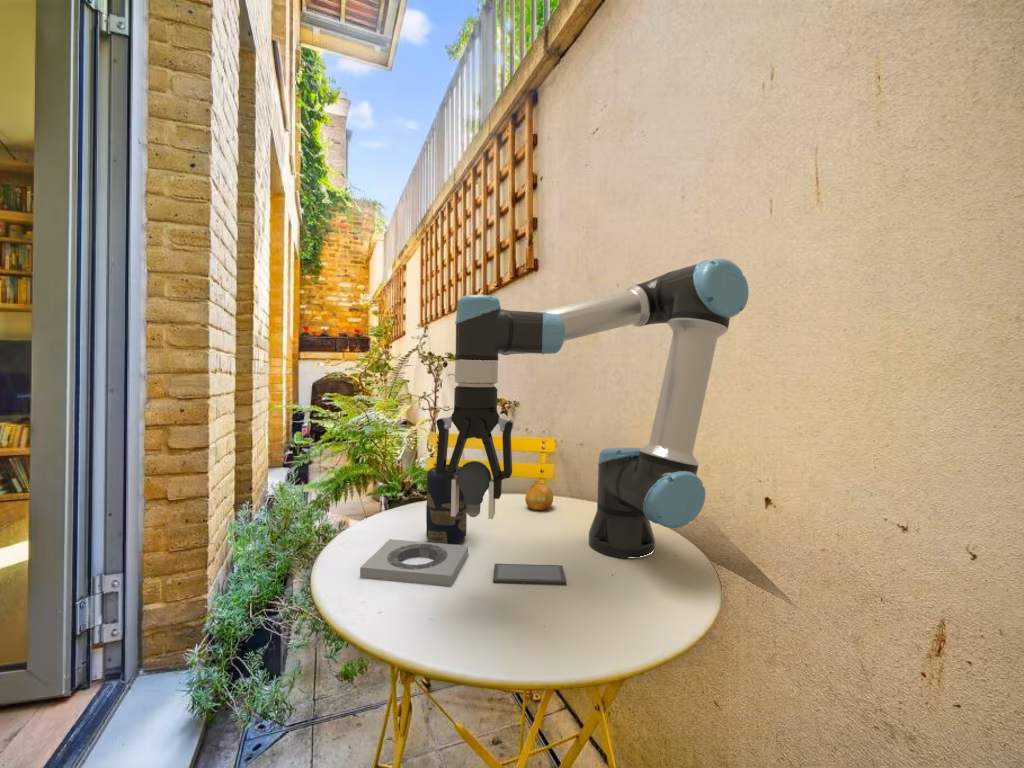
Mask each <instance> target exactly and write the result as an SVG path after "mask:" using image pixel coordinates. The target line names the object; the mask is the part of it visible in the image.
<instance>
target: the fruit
mask: <svg viewBox="0 0 1024 768" xmlns="http://www.w3.org/2000/svg"><path fill="white" fill-rule="evenodd" d="M524 498H525V504H526V506H527V507H529V508H530V509H531V510H535V511H544V510H547V509H549V508H550V507H551V506H552V504H553V502H554V494H553V491H552V490H551V488H550V486H549V485H547V484H546V483H544V482H543V481H540V480H537V481H536V480H535V481H534V483H533V485H530V487H528V489H527V491H526V494H525V497H524Z"/></svg>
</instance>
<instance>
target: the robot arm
mask: <svg viewBox="0 0 1024 768" xmlns="http://www.w3.org/2000/svg"><path fill="white" fill-rule="evenodd" d="M749 295H750V294H749V284H748V281H747V278H746V276H745V275H744V273H743V271H742V270H741V268H740V267H739V266H738V265H737V264H736V263H735V262H733V261H730V260H729V259H725V258H714V259H710V260H707V259H706V260H702V261H700V262H699V263H695V264H692V265H689V266H686V267H683V268H678V269H676V270H671V271H668V272H666V273H663V274H661V275H659V276H656V277H654V278H652V279H649V280H646V281H644V282H641V283H638V284H632V285H629V286H628V287H627V288H626V289H625V291H621V292H617V293H613V294H609V295H603V296H600V297H596V298H592V299H587V300H582V301H578V302H573V303H569V304H564V305H561V306H557V307H551V308H547V309H543V310H539V311H524V310H523V311H520V310H509V309H502V308H501V303H500V302H501V301H500V298H498V297H496V296H493V295H492V296H491V295H488V294H487V295H486V294H467V295H463V296H461V297H460V298H459V299H458V301H457V304H456V317H455V322H454V324H455V361H454V363H455V364H454V382H455V383H457V385H456V386H455V387H454V398H453V399H454V401H453V403H454V405H453V412H452V414H451V415H450V416H448V417H440V418H438V419H437V420H436V422H435V423H436V427H437V430H438V437H437V439H438V440H437V449H436V463H435V467H436V473H437V474H438V475H443V476H444V477H445V478H446V495H447V496H451V516H453V517H455V516H456V515H457V513H458V512H459V486H458V483H457V476H455V474H456V470H457V467H458V466H459V464H460V461H461V457H462V454H463V451H464V449H465V446H466V443H467V441H468V439H472V438H475V439H477V440H478V439H479V440H481V441H482V444H483V447H484V449H485V453H486V456H487V461H488V464H489V468H490V473H491V476H492V477H491V480H490V481H489V488H488V510H487V511H488V516H487V519H488V520H493V519H494V516H495V515H496V500H500V498H501V496H502V487H503V486H502V484H503V483H502V482H503V481H502V480H506V479H509V478H511V476H512V473H513V459H512V457H513V456H512V455H513V454H512V452H513V451H512V431H513V428H514V425H515V423H514V422H515V421H513V420H512V419H509V420H507V419H504V418H501V417H500V414H499V412H498V388H497V386H495V384H498V381H499V354H500V355H503V356H509V355H524V354H536V355H537V354H540V355H547V354H548V355H549V354H550V355H551V354H553V355H554V354H557V353H558V352H560V351H561V349H562V347H563V345H564V342H565V341H566V342H567V341H569V340H575V339H578V338H582V337H586V336H590V335H594V334H598V333H601V332H606V331H611V330H615V329H618V328H623V327H627V326H631V325H633V326H635V327H638V328H639V327H644V326H649V325H656V324H657V325H659V324H668V326H669V327H670V329H671V331H672V338H671V342H670V346H669V350H668V356H667V360H666V363H665V369H664V374H663V379H662V383H661V387H660V392H659V397H658V401H657V404H656V405H657V406H656V411H655V415H654V418H653V419H654V420H653V423H652V427H651V434H650V438H649V442H648V443H647V444H646V445H645V446H643V447H608V448H603V449H601V450H600V452H599V456H598V462H597V467H598V477H597V502H596V503H597V508H596V513H595V515H594V517H593V521H592V523H591V525H590V528H589V531H588V544H589V546H590V547H591V548H592V549H593V550H595V551H596V552H599V553H601V554H604V555H607V556H610V557H613V558H614V557H615V558H619V557H623V558H622V559H629V558H628V557H640V556H644V555H647V554H649V553H651V552H652V551H653V550H654V548H655V549H656V539H655V534H654V532H653V528H652V526H651V525H652V523H654V524H657V525H660V526H662V527H664V528H668V529H678V528H682V527H684V526H687V525H688V524H689V523H690V522H692V521H694V520H695V519H696V518H698V515H699V514H700V512H701V511H702V509H703V507H704V504H705V500H706V488H705V486H704V484H703V481H702V480H701V478H700V477H698V469H699V462H698V460H697V459H696V458H695V455H694V449H695V443H696V440H697V434H698V431H699V426H700V421H701V416H702V412H703V408H704V401H705V398H706V394H707V388H708V384H709V379H710V374H711V371H712V366H713V361H714V357H715V351H716V346H717V344H718V343H717V341H718V339H719V338H720V337H722V336H724V334H727V332H728V330H729V326H730V321H731V318H733V317H735V316H737V315H739V314H740V312H742V311H743V310H744V309H745V308H746V305H747V303H748V300H749ZM452 423H453V425H454V426H455V428H456V429H457V430H458V435H457V438H456V443H455V445H454V448H453V451H452V455H451V458H450V461H449V463H448V464H449V466H448V468H447V467H446V464H447V462H448V461H447V459H448V448H449V447H448V446H449V436H450V435H449V434H450V433H449V432H450V428H451V427H452ZM498 425H499V430H500V432H502V437H501V438H502V459H503V462H502V463H503V470H502V469H501V465H500V462H499V459H498V455H497V451H496V449H495V444H494V439H493V436H492V432H493V431H494V429H495V428H496V426H498Z"/></svg>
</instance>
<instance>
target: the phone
mask: <svg viewBox="0 0 1024 768" xmlns="http://www.w3.org/2000/svg"><path fill="white" fill-rule="evenodd" d="M492 584H503V585H504V584H505V585H506V584H509V585H537V586H540V585H541V586H567V580H566V576H565V571H564V566H563V564H562V565H560V564H559V565H558V564H557V565H556V564H554V565H553V564H529V563H527V564H523V563H521V564H520V563H494V567H493V575H492Z"/></svg>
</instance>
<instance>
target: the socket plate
mask: <svg viewBox="0 0 1024 768" xmlns="http://www.w3.org/2000/svg"><path fill="white" fill-rule="evenodd" d="M468 556H469V545H464V544H442V543H432V542H430V541H428V542H427V541H417V540H416V541H414V540H404V539H392V538H391V539H388V540H387V541H386V542H385V543H384V544H383V545H382V546H381V547H380V548H379V549H378V550H377V551H375V552H374V554H372V556H370V557H369V558H368V559H367V560H366V561H365V562H364V563H363V564H362V565H361V566H360V567H359V578H360V579H371V580H383V581H391V582H393V581H394V582H403V583H411V584H412V583H414V584H424V585H435V586H445V587H452V585H453V584H454V581H455V580H456V578H457V577H458V574H459V572H460V571H461V568H462V567H463V565H464V563H465V561H466V559H467V558H468ZM412 558H429V559H432V560H431V561H429V562H427V563H420V564H409V563H404V561H405V560H408V559H412Z"/></svg>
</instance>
